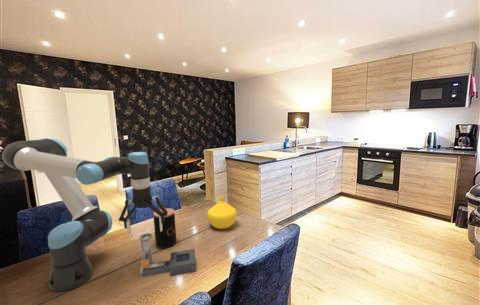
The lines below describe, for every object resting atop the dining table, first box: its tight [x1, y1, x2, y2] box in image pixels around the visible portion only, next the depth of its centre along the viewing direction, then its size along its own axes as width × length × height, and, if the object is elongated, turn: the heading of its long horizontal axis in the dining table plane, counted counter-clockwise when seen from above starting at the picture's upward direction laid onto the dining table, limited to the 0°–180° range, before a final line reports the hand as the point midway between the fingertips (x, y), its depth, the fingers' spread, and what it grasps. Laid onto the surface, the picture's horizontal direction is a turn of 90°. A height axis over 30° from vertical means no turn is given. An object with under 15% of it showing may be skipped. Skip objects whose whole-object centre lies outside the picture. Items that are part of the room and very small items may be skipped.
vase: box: [207, 195, 238, 230], centre depth 140 cm, size 18×18×19 cm
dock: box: [141, 248, 197, 277], centre depth 101 cm, size 22×11×4 cm, turn 104°
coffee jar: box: [152, 207, 177, 249], centre depth 120 cm, size 11×11×18 cm
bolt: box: [139, 258, 166, 275], centre depth 99 cm, size 10×2×5 cm, turn 104°
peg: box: [139, 232, 154, 264], centre depth 103 cm, size 5×5×14 cm
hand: (145, 232), depth 102 cm, fingers open, 13 cm apart
